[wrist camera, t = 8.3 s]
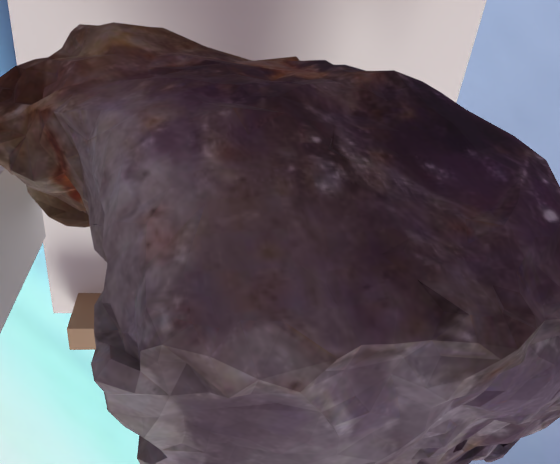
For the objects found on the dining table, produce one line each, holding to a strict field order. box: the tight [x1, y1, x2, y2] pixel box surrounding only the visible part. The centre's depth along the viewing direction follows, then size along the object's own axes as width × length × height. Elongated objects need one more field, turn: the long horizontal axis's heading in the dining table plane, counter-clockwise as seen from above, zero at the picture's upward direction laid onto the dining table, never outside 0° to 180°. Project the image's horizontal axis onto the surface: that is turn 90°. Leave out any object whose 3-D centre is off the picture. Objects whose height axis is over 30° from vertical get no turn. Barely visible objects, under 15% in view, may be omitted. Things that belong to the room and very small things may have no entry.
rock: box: [0, 22, 560, 464], centre depth 11 cm, size 12×9×10 cm
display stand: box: [7, 0, 487, 350], centre depth 18 cm, size 14×16×5 cm
